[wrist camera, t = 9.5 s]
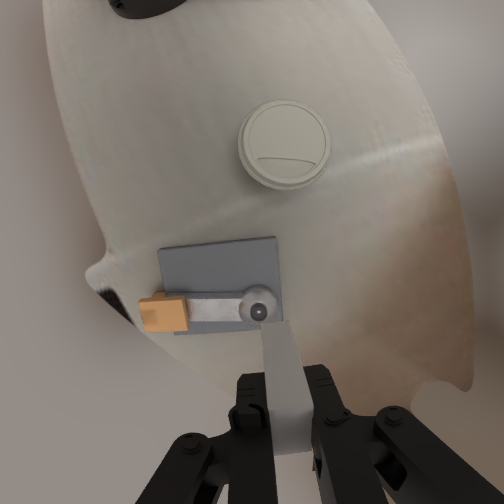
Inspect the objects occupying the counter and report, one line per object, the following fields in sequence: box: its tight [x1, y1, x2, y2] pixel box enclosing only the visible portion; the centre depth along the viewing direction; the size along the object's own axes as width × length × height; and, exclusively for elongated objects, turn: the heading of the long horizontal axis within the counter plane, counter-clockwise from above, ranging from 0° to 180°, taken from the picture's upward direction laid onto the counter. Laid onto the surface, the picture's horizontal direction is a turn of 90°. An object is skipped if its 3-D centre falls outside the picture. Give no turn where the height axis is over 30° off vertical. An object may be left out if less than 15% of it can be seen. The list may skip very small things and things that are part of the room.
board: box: [157, 236, 283, 335], centre depth 37 cm, size 12×15×2 cm
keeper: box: [138, 292, 190, 332], centre depth 35 cm, size 4×6×6 cm
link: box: [166, 285, 279, 328], centre depth 34 cm, size 14×5×3 cm, turn 91°
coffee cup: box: [237, 99, 332, 191], centre depth 28 cm, size 8×8×12 cm
